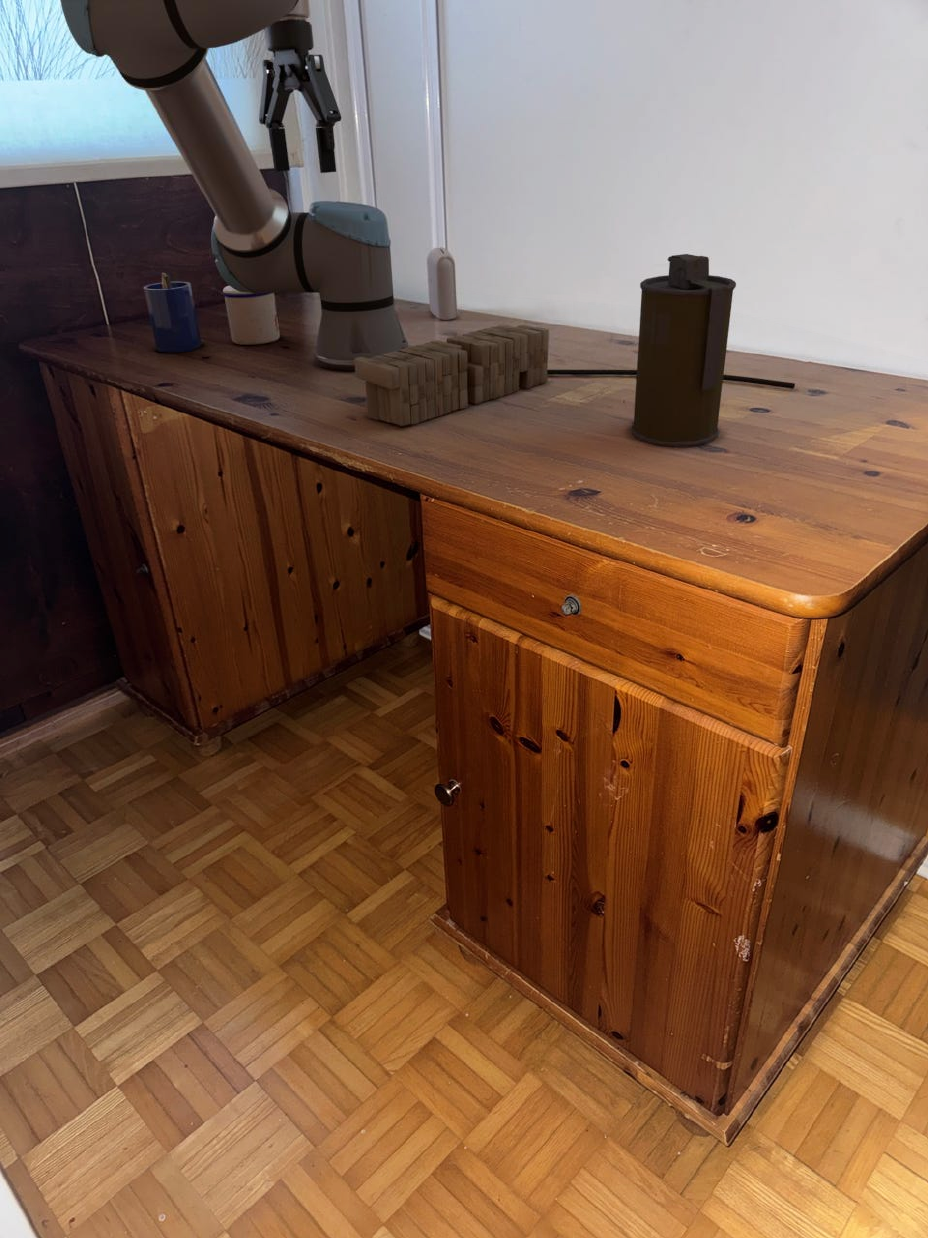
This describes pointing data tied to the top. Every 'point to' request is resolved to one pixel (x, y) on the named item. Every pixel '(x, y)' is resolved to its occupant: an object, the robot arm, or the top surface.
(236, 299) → the teacup with lid
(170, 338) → the pen pot
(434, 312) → the photo printer
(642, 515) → the top surface
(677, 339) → the canister
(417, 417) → the block tower
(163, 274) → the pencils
